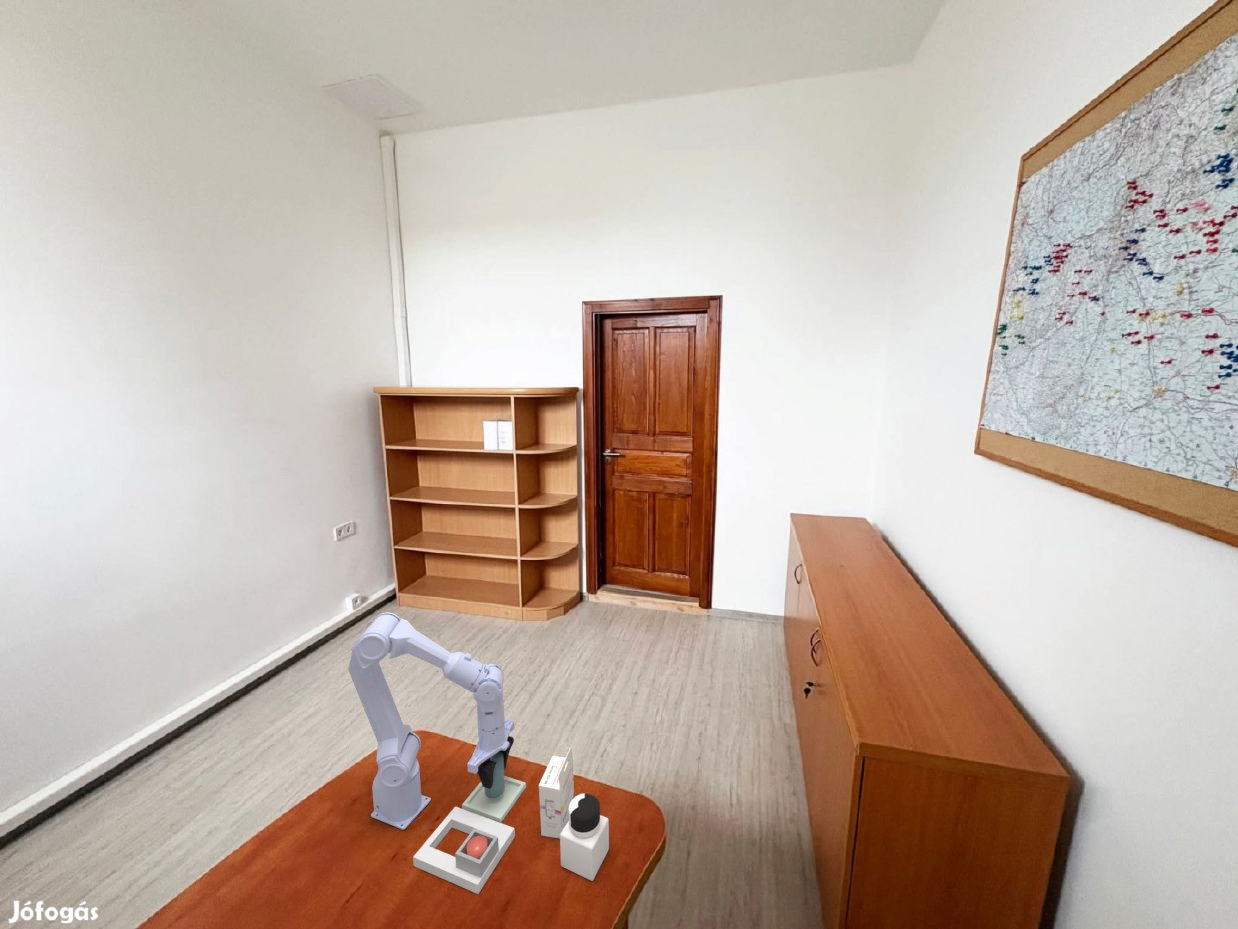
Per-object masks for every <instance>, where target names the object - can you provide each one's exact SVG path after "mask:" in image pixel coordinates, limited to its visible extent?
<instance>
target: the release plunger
mask: <svg viewBox="0 0 1238 929" xmlns="http://www.w3.org/2000/svg"><path fill="white" fill-rule="evenodd" d="M487 848H488V845H487V839H486V838H485V837H484V836H476V837H473V838H472V839H471V840H470V841H469V842H468V844H467V855H469V856H471V857H474V858H476V859H480V858H481V857H482V855H483V854H484V852H485V851H486V849H487Z"/></svg>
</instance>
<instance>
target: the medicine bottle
mask: <svg viewBox="0 0 1238 929" xmlns="http://www.w3.org/2000/svg"><path fill="white" fill-rule="evenodd" d="M609 822H610V820H609V818H608V817H606V816H604V815H601V805H600V801H599V799H598V798H597V797H596V796H595V795H593V794H591V793H585V792H584V793H579V794H578V795H576V796H574V798H573V799H572V801H571V802H570V804H569V821H568V822H567V824H566V826H565V827H564V829H563V830H562V832H561V833H560V839H559V845H560V846H559V848H560V866H561V867H562V868H565V869H567V870H568V871H570V872H572V873H575V874H577V875H579V876H580V877H582V878H585V879H587V880H589V881H591V882H593V881H594V880H595V879H596V878H595V877H596V875H597V874H598V872H599V870H600V868H601V866H602V864H603V861H604V860H605V858H606V856H607V854H608V852H609V849H610V834H609V833H610V830H609V828H610V827H609V826H610V825H609V824H610V823H609Z"/></svg>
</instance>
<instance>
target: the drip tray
mask: <svg viewBox="0 0 1238 929" xmlns="http://www.w3.org/2000/svg"><path fill="white" fill-rule="evenodd" d="M504 780H505V790H504V792H503V794H502V795H500V796H499V797H497V798H488V797H487V796H486V795H485V788H484V787H483V786H482V783H481V781H480V782H479V783H478V785H477V786H476V787H475V788H474V789H473V791H471V793H470V794H469V796H468V797H467V798H466V799H465V800H464V802H463V803H462V804H461V809H464V810H467V811H469V812H472V813H475V814H477V815H480V816H483V817H486V818H488V819H491V820H494V821H496V822H499V823H502V824H503V821H504V820H505V819H506V817H507V816H508V814H509V812H510V811H511V809H513V807H514V805H516V803H517V801H518V799H519V798H520V797H521V795H522V794H523V792H524V791H525V789H526V788H527V783H526V782H524V781H522V780H519V779H515V778H513V777H510V776H506V775H504Z"/></svg>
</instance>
